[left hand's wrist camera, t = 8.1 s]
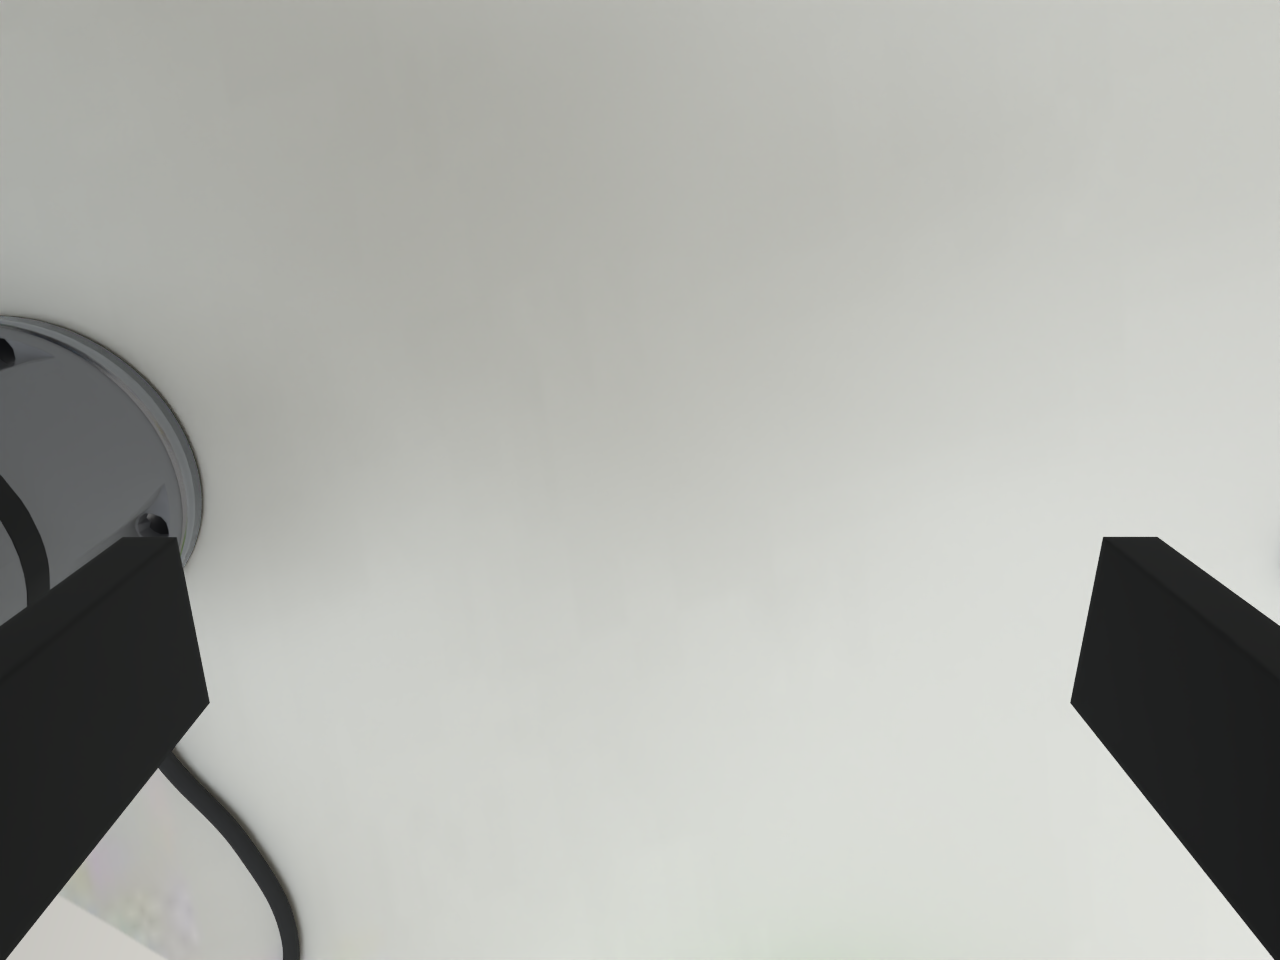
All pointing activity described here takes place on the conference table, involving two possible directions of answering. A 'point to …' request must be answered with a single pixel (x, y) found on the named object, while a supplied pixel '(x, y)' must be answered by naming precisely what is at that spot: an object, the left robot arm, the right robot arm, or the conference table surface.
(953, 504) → the conference table surface
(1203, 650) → the left robot arm
